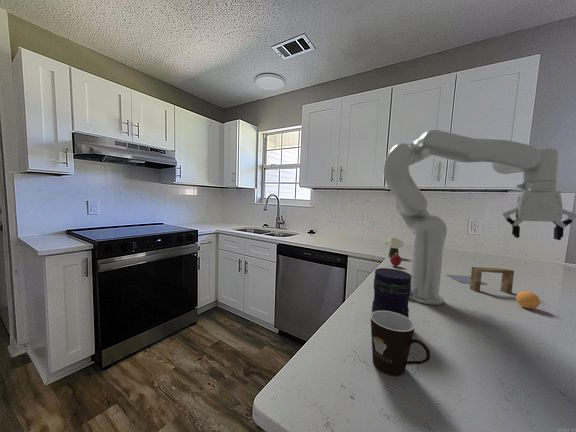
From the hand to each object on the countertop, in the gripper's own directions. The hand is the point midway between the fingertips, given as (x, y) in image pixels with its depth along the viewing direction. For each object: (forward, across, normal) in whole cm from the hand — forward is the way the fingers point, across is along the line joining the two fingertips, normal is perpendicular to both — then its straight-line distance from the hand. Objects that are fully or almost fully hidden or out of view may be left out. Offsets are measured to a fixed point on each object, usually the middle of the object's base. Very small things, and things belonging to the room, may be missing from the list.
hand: (536, 238), depth 78 cm
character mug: (+24, -52, +60) cm, 83 cm away
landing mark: (+26, -15, +32) cm, 44 cm away
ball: (+23, 0, +5) cm, 23 cm away
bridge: (+26, -8, +19) cm, 33 cm away
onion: (+24, -47, +33) cm, 63 cm away
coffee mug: (+24, -36, -59) cm, 73 cm away
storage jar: (+24, -40, -38) cm, 60 cm away
